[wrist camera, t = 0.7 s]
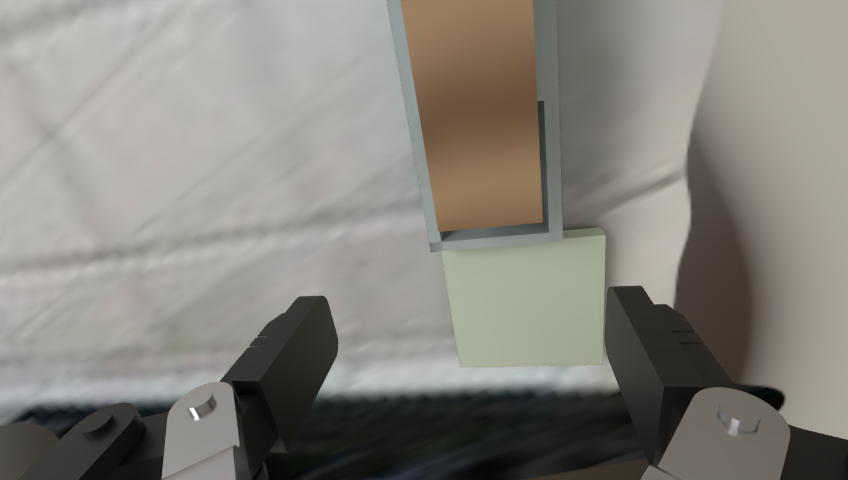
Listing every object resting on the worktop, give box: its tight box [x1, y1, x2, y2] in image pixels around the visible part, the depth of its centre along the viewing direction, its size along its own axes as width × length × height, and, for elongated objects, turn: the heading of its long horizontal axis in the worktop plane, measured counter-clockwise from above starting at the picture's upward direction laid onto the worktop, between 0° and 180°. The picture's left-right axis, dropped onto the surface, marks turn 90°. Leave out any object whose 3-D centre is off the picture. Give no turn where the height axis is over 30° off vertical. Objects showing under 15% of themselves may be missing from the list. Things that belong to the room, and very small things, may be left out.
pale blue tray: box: [387, 0, 563, 252], centre depth 20 cm, size 14×8×6 cm, turn 9°
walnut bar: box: [400, 0, 543, 232], centre depth 17 cm, size 10×4×4 cm, turn 9°
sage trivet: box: [441, 227, 606, 368], centre depth 27 cm, size 10×10×1 cm
